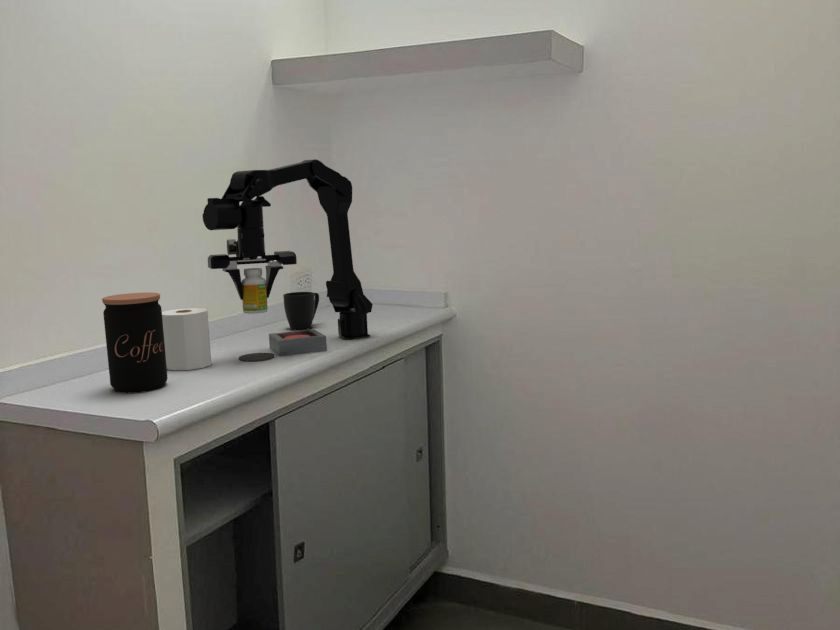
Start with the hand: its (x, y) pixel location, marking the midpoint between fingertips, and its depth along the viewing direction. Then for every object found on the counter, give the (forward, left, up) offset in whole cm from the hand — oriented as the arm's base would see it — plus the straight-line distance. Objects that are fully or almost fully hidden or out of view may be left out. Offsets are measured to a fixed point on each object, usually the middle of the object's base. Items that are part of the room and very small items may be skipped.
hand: (254, 298), depth 186 cm
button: (-10, -4, -13) cm, 17 cm away
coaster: (0, 0, -13) cm, 13 cm away
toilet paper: (+15, 0, -14) cm, 21 cm away
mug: (-20, -35, -14) cm, 42 cm away
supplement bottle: (0, 0, -3) cm, 3 cm away
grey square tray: (-10, -4, -13) cm, 17 cm away
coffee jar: (+26, +16, -14) cm, 34 cm away
